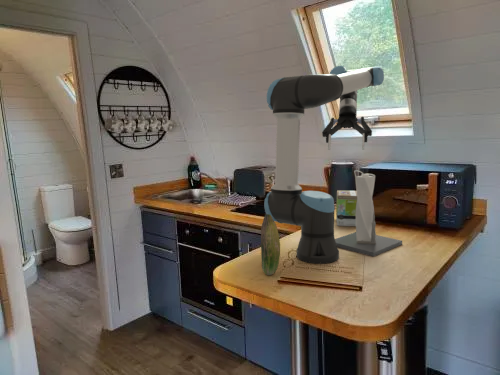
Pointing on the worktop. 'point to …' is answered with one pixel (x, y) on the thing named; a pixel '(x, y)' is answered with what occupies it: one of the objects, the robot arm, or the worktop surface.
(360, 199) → the skyscraper
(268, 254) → the vegetable
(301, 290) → the worktop surface
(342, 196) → the tea box
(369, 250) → the charcoal board
